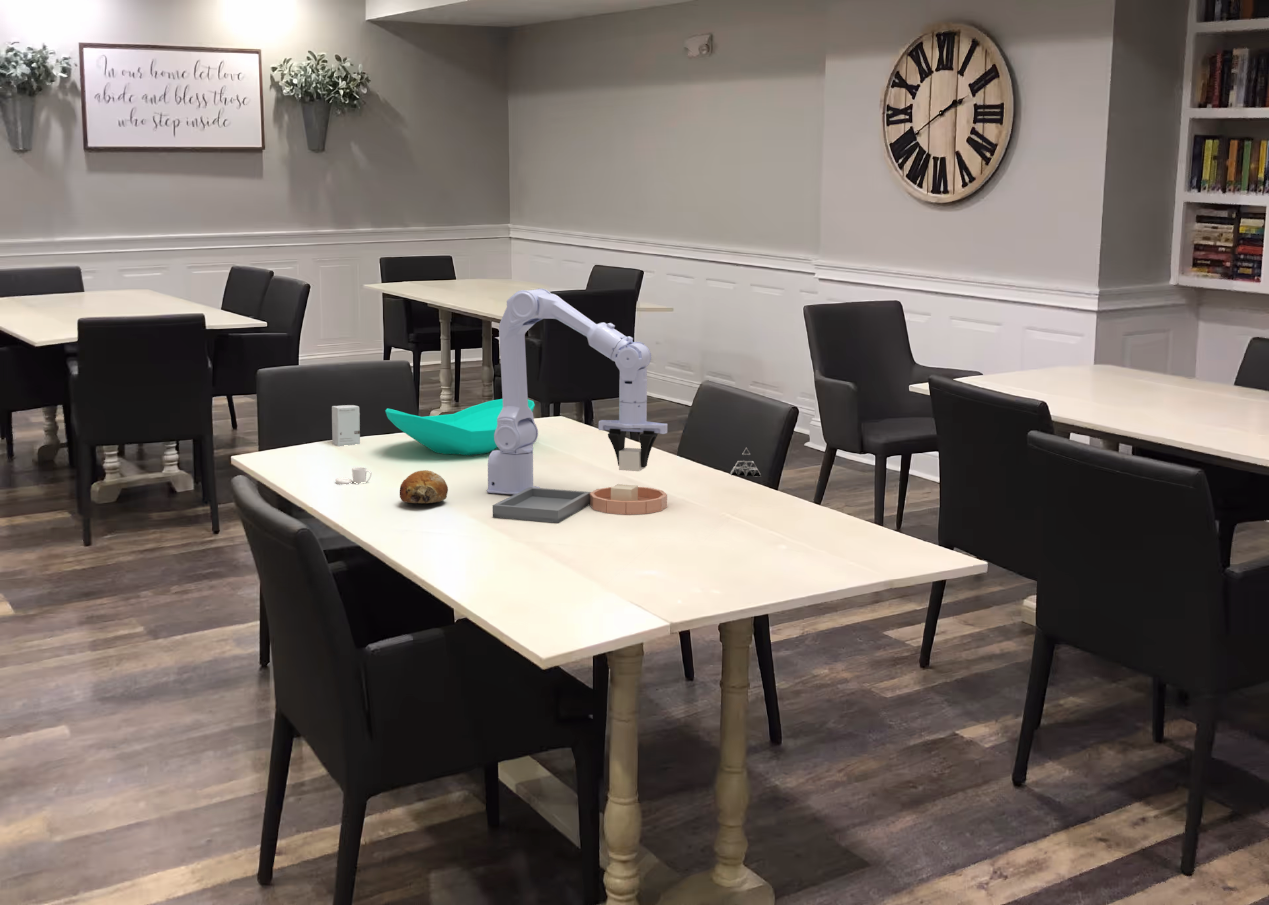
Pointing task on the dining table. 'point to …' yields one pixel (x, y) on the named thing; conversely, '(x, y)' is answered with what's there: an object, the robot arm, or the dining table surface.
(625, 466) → the greyish beige cube
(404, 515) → the dining table surface
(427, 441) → the table top decor
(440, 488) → the bread roll
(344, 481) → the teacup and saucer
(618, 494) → the cream matte cube
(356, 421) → the skincare box
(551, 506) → the parts tray
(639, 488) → the bowl
